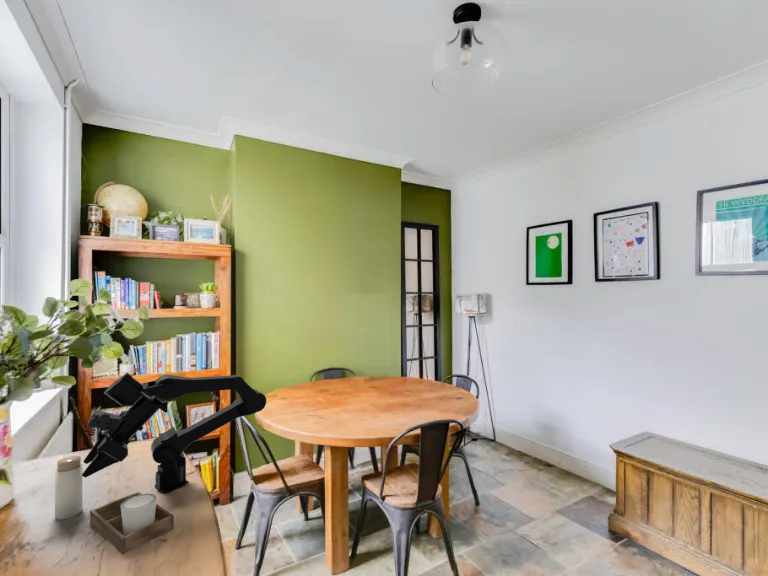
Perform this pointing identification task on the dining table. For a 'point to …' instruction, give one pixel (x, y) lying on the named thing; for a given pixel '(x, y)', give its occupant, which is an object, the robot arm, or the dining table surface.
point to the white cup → (138, 512)
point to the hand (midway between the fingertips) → (84, 469)
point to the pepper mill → (68, 487)
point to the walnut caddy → (115, 524)
